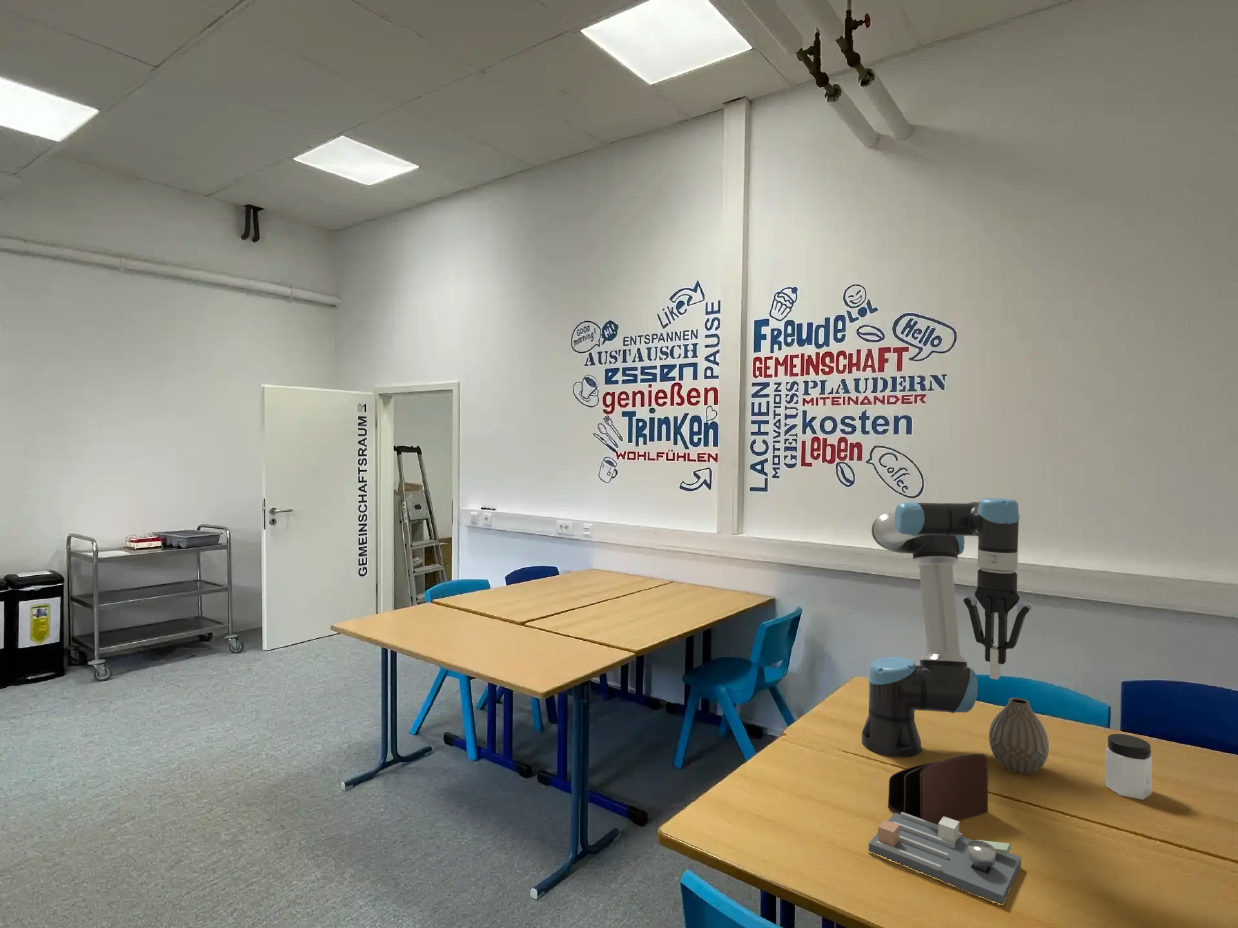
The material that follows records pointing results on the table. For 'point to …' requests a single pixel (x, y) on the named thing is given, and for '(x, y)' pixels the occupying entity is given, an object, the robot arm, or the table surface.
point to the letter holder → (942, 789)
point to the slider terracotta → (888, 833)
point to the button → (981, 855)
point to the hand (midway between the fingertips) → (995, 677)
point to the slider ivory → (948, 829)
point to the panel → (949, 858)
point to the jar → (1128, 766)
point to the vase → (1019, 738)
